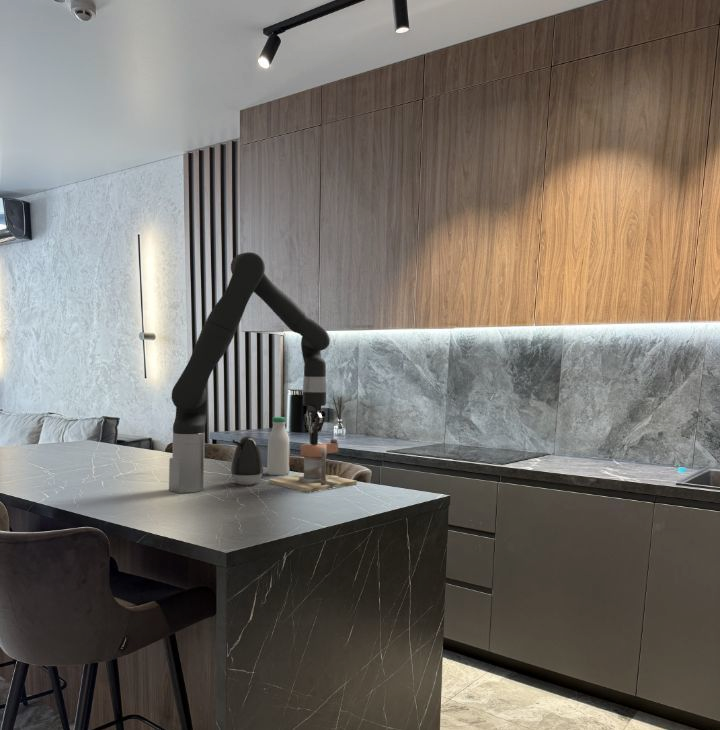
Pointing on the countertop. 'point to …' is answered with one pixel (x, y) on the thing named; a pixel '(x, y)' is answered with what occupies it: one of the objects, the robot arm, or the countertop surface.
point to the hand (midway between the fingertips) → (313, 444)
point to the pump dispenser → (246, 462)
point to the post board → (309, 486)
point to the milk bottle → (278, 448)
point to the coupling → (318, 449)
